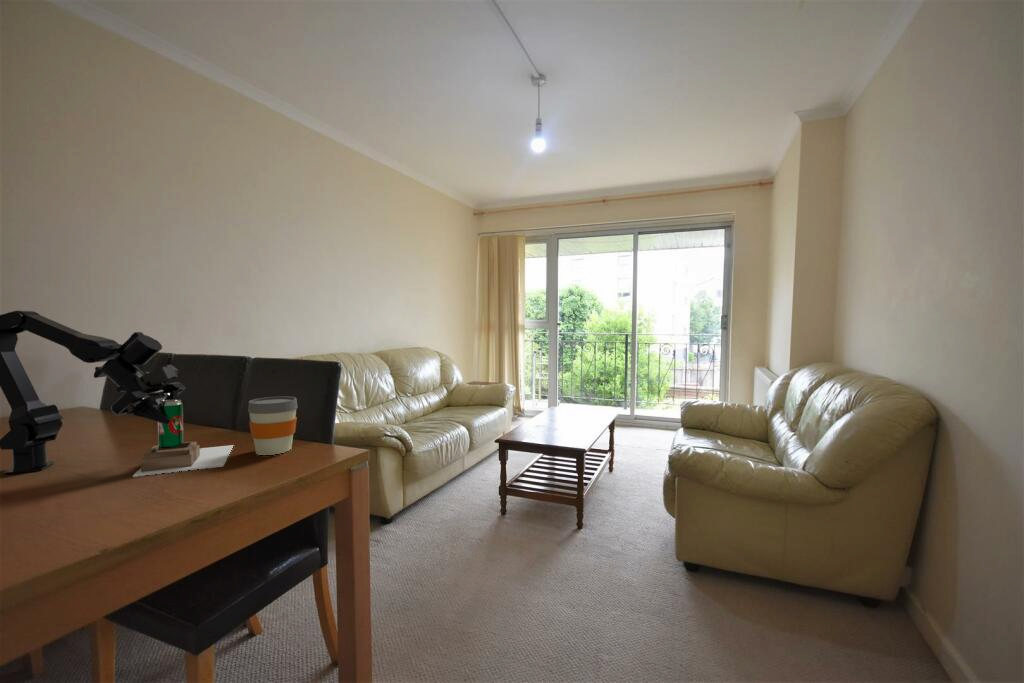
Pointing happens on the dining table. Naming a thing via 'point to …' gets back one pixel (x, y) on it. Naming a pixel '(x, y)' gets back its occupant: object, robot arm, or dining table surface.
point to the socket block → (170, 457)
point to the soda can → (171, 424)
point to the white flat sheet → (198, 461)
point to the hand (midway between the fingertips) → (176, 420)
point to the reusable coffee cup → (272, 424)
